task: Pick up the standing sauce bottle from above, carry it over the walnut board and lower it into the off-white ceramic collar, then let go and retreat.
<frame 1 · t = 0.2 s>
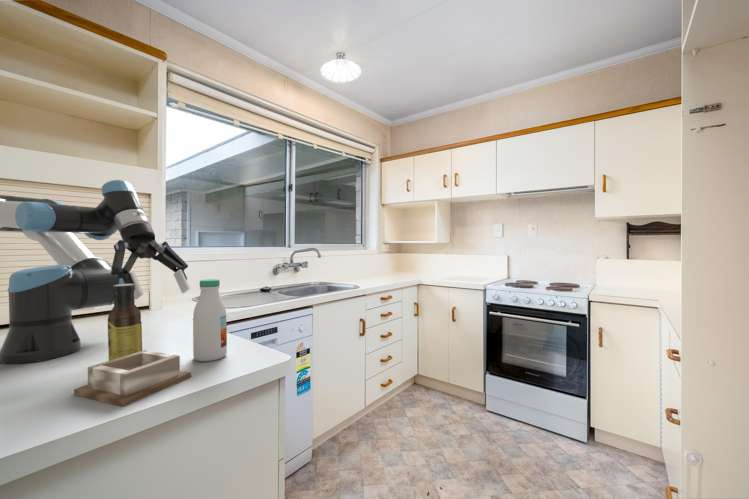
hand: (164, 293, 89), 16 cm above the countertop, tool tilted 35°, fingers open, 13 cm apart
socket board: (136, 385, 67), on the countertop
milk bottle: (210, 357, 84), on the countertop
sauce bottle: (125, 370, 76), on the countertop
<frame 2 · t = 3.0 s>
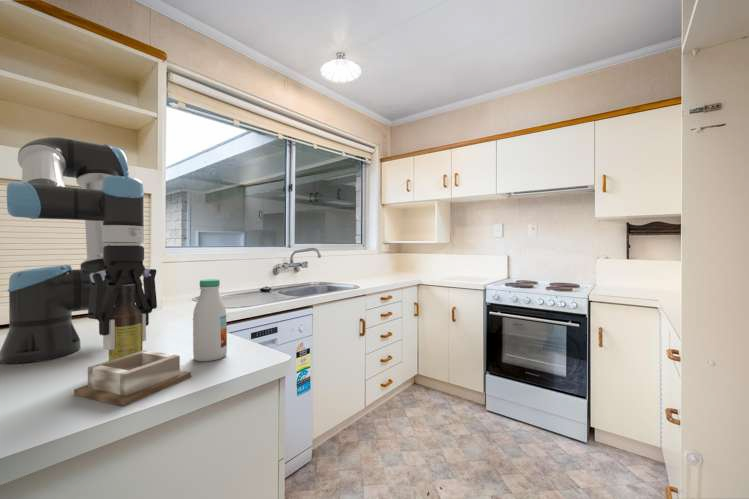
hand: (125, 344, 76), 6 cm above the countertop, tool pointing down, fingers closed on sauce bottle, 6 cm apart
sauce bottle: (125, 370, 76), on the countertop, touching gripper
everything else where it was.
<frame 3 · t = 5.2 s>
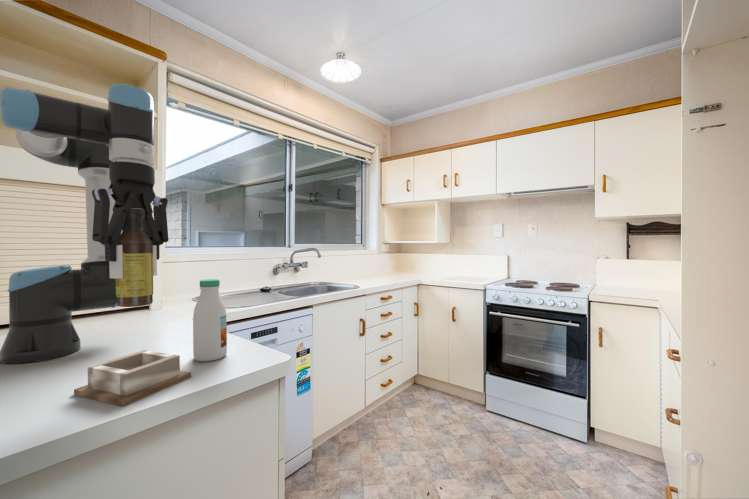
hand: (134, 276, 67), 22 cm above the countertop, tool pointing down, fingers closed on sauce bottle, 6 cm apart
sauce bottle: (134, 306, 67), point 16 cm above the countertop, touching gripper
everything else where it was.
when the fingers open (8 cm above the countertop, at t = 7.7 s): sauce bottle drops 1 cm, resting on socket board.
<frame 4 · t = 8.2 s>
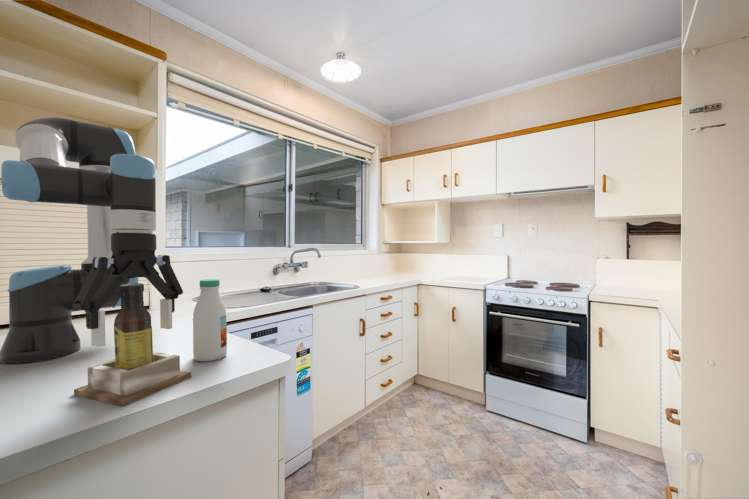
hand: (135, 336, 67), 10 cm above the countertop, tool pointing down, fingers open, 13 cm apart
sauce bottle: (135, 381, 67), point 1 cm above the countertop, touching socket board
everything else where it was.
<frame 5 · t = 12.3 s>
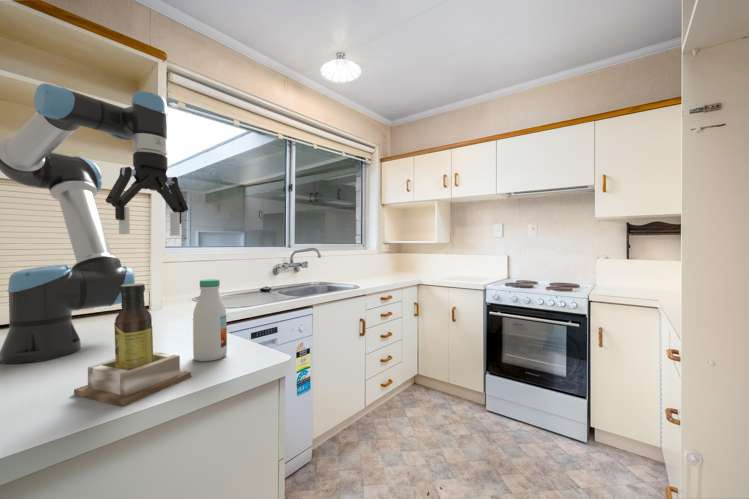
hand: (151, 234, 87), 32 cm above the countertop, tool pointing down, fingers open, 13 cm apart
nothing on the countertop moved.
at the end: sauce bottle 0.2 cm off-centre on the socket board, point 0.8 cm above the socket board's base; sauce bottle tilted 0°; the gripper is holding nothing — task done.
